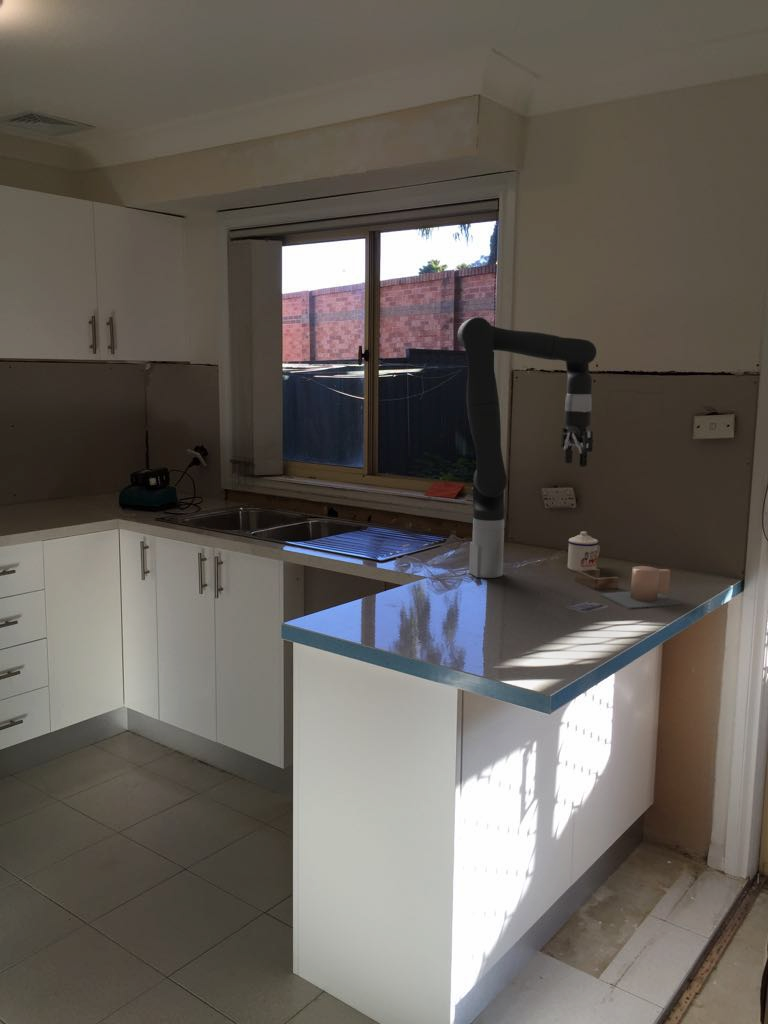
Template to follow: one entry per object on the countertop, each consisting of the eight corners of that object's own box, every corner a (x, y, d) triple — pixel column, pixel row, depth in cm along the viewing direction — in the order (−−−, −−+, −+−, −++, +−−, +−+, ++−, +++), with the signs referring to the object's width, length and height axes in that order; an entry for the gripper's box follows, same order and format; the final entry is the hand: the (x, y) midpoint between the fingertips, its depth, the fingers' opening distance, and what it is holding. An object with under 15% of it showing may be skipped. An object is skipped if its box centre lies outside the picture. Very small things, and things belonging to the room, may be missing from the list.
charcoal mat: (628, 609, 223) (628, 607, 223) (599, 595, 236) (600, 593, 236) (681, 604, 227) (681, 603, 227) (650, 591, 241) (650, 589, 241)
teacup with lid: (583, 573, 260) (585, 536, 258) (560, 567, 267) (562, 531, 265) (609, 568, 267) (611, 531, 265) (586, 563, 274) (588, 527, 272)
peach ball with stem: (639, 602, 228) (641, 572, 226) (625, 595, 234) (627, 566, 233) (673, 600, 231) (676, 571, 229) (658, 593, 237) (661, 565, 236)
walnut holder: (594, 589, 242) (594, 579, 241) (574, 580, 252) (575, 570, 252) (617, 587, 244) (618, 577, 243) (597, 578, 254) (598, 568, 254)
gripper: (554, 408, 257) (552, 462, 260) (578, 411, 243) (576, 468, 246) (577, 408, 259) (574, 461, 262) (602, 410, 246) (599, 467, 248)
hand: (575, 464), depth 254 cm, fingers open, 8 cm apart
